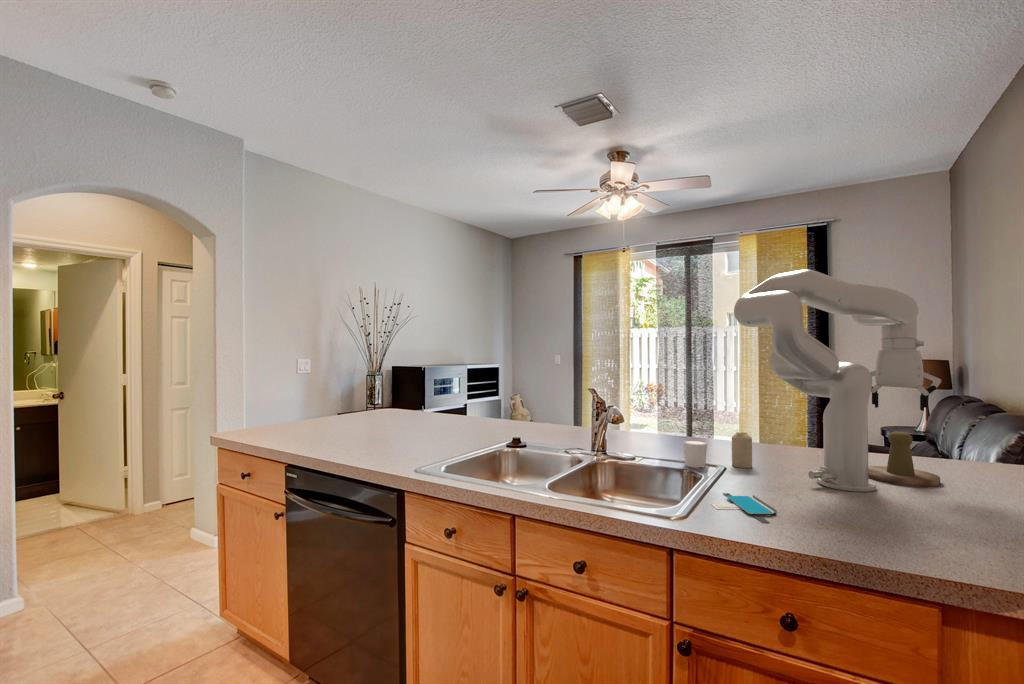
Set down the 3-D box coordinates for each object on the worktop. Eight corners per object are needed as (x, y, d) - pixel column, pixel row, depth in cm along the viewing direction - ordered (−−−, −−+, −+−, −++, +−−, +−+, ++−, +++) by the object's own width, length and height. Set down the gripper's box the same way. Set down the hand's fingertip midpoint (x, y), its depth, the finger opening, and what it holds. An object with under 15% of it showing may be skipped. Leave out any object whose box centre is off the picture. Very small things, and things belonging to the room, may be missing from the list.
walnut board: (906, 488, 123) (906, 482, 123) (850, 473, 138) (849, 467, 138) (956, 484, 126) (956, 479, 126) (895, 469, 142) (895, 464, 142)
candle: (743, 469, 143) (743, 434, 143) (727, 465, 148) (727, 432, 148) (756, 467, 146) (756, 433, 146) (740, 463, 151) (739, 430, 151)
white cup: (709, 468, 144) (709, 444, 144) (685, 467, 145) (684, 444, 146) (705, 463, 151) (705, 440, 151) (681, 462, 152) (681, 439, 152)
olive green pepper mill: (882, 469, 136) (882, 429, 136) (909, 471, 134) (909, 430, 134) (891, 474, 131) (890, 433, 131) (919, 476, 128) (918, 434, 129)
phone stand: (697, 496, 120) (697, 489, 120) (747, 496, 119) (747, 489, 119) (732, 525, 100) (732, 517, 100) (792, 525, 99) (791, 517, 99)
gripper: (940, 345, 130) (940, 410, 130) (860, 345, 141) (860, 405, 141) (942, 345, 124) (942, 412, 124) (859, 344, 135) (858, 407, 135)
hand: (898, 408), depth 132 cm, fingers open, 9 cm apart
